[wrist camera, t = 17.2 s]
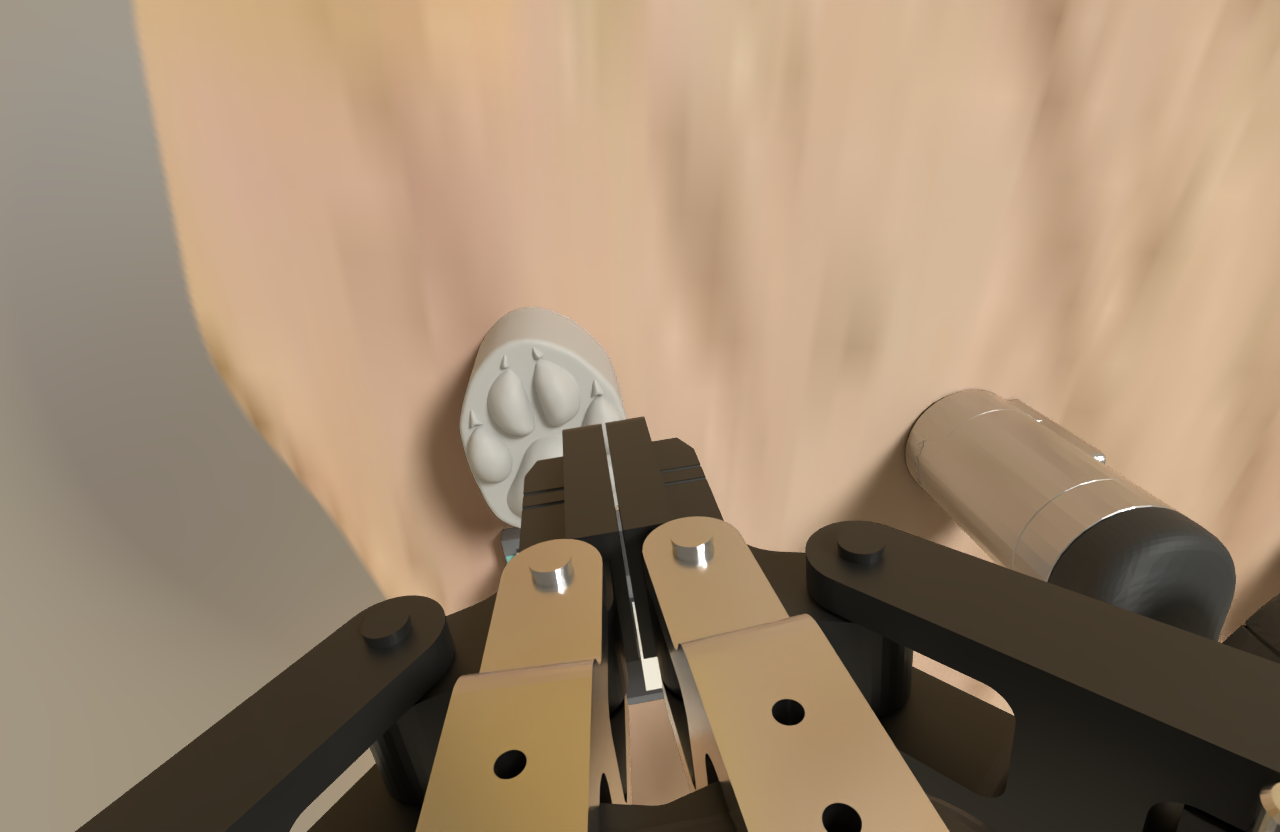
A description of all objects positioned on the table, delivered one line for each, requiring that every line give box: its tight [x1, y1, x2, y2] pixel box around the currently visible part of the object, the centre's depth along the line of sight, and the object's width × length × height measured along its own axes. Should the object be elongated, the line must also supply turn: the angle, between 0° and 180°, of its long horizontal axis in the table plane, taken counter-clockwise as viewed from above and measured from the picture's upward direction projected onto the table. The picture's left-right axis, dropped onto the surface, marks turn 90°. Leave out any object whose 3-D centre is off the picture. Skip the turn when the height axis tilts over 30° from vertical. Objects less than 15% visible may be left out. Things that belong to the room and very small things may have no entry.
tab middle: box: [632, 602, 663, 691], centre depth 54 cm, size 4×4×6 cm
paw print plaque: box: [459, 307, 627, 528], centre depth 45 cm, size 10×13×9 cm
